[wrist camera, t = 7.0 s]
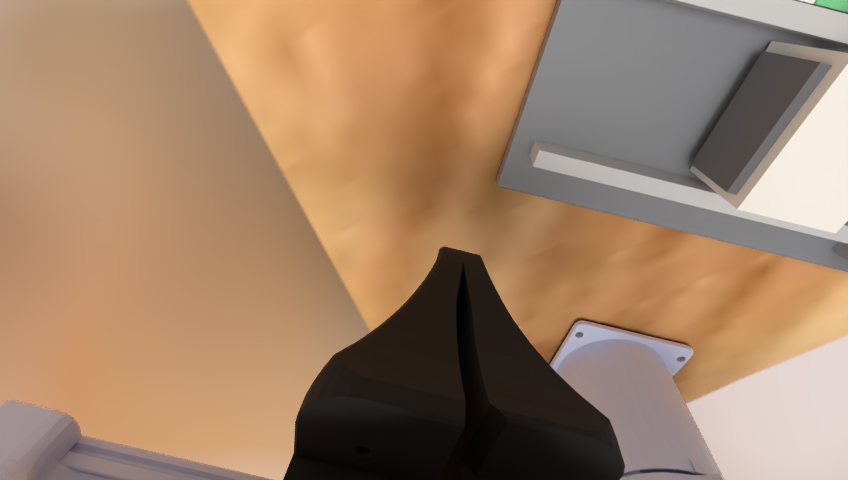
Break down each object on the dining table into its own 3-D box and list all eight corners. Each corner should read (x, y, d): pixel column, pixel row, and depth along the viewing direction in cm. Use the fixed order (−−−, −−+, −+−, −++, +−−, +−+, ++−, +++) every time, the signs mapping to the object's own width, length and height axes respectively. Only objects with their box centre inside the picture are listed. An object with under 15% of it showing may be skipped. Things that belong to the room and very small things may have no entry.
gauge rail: (847, 264, 21) (989, 367, 15) (496, 178, 21) (504, 250, 15) (1102, 19, 15) (1519, 36, 9) (595, -112, 14) (677, -185, 8)
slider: (769, 190, 18) (835, 233, 15) (681, 167, 18) (726, 206, 15) (939, -25, 14) (1089, -31, 10) (820, -56, 14) (932, -71, 10)
